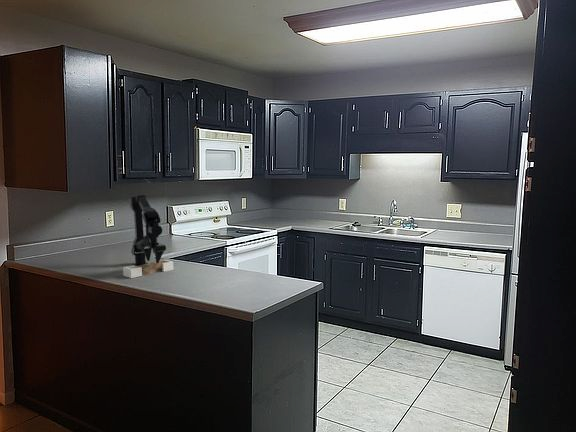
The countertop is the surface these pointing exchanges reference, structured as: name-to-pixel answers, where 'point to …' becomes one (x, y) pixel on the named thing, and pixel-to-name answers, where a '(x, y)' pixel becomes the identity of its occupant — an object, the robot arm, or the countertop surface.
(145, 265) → the brown bar
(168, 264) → the cap
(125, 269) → the cap
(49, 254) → the countertop surface
